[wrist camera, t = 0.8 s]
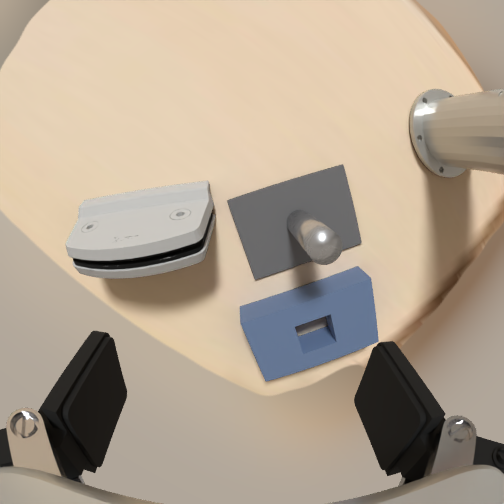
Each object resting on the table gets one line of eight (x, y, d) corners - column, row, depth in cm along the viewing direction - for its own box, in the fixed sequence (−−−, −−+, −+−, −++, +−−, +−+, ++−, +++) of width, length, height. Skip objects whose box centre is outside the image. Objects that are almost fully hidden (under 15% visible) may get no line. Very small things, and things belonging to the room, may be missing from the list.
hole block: (357, 266, 35) (370, 278, 31) (367, 326, 38) (378, 341, 34) (239, 306, 36) (240, 323, 32) (263, 363, 39) (265, 381, 35)
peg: (308, 206, 32) (338, 225, 23) (314, 230, 33) (345, 258, 24) (283, 214, 32) (304, 236, 23) (290, 238, 33) (313, 269, 24)
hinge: (211, 180, 31) (207, 228, 23) (216, 216, 34) (215, 272, 26) (81, 200, 30) (45, 249, 22) (93, 232, 33) (64, 284, 25)
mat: (342, 164, 31) (343, 164, 31) (360, 242, 34) (361, 243, 34) (227, 200, 32) (227, 200, 31) (254, 278, 35) (255, 279, 34)
